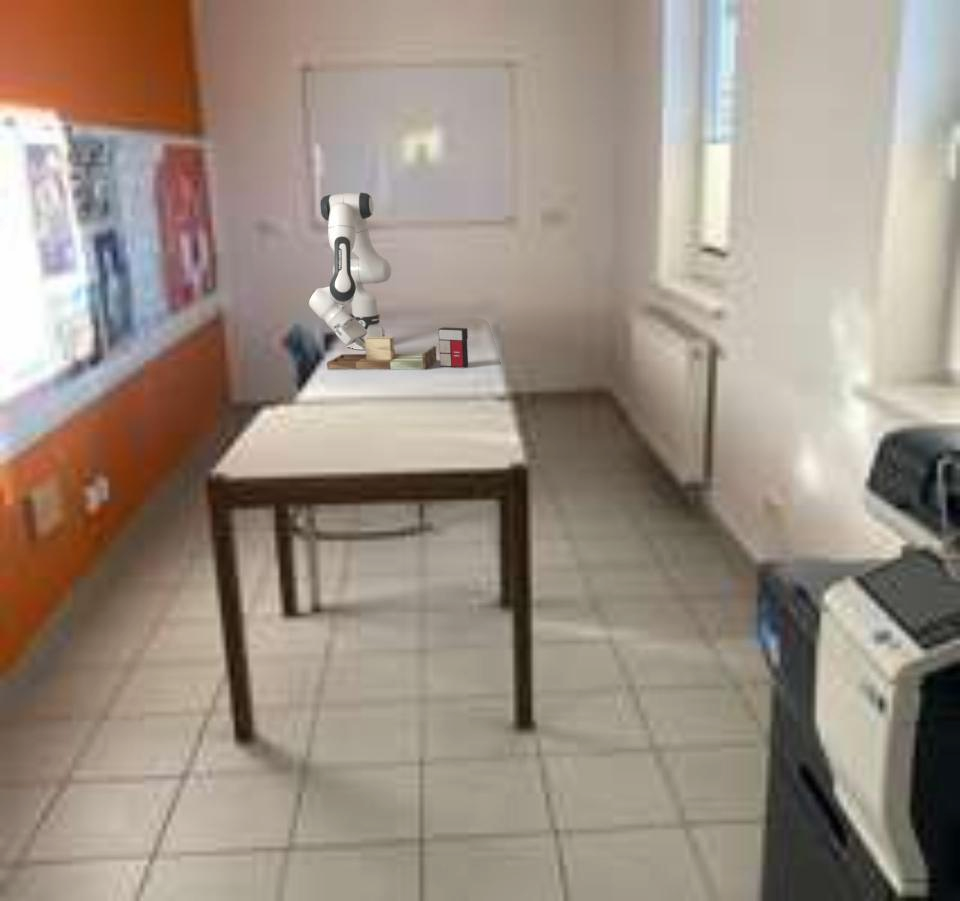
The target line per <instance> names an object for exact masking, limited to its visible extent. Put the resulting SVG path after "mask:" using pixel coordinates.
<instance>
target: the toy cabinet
mask: <svg viewBox="0 0 960 901" xmlns="http://www.w3.org/2000/svg"><path fill="white" fill-rule="evenodd" d="M468 335H469V333H468V328H466V327H464V328H463V327H448V326H447V327H446V326H445V327H444V326H443V327H440V328H438V344H439V345H438V346H439V364H440V367H441V366H442V367H441V368H444V367H445V368H456V367H465V368H468V367H469V358H468V357H469V352H468V351H469V350H468V337H469V336H468ZM467 366H468V367H467Z"/></svg>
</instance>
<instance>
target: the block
mask: <svg viewBox="0 0 960 901" xmlns="http://www.w3.org/2000/svg"><path fill="white" fill-rule="evenodd" d="M365 345H366V349H365V354H366V359H392V358H394V357H395V354H396V351H395V337H394V336H385V337H369V338H367V339H365Z"/></svg>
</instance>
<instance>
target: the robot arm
mask: <svg viewBox="0 0 960 901" xmlns="http://www.w3.org/2000/svg"><path fill="white" fill-rule="evenodd" d="M374 208H375V207H374V200H373V199H372V196H371V195H370V194H369V193H367V192H360V193H359V192H345V193H337V194H328V195H325V196H323V197H322V198H321V199H320V204H319V210H320V215H321V217H322V218H323V219H324V220H325V221H327V222H328V224H327V234H328V235H327V237H328V244H329V247H330V249H332V251H333V255H334V259H333V260H334V263H333V266H332V278H331V281H330V283H329V286H326V287H320V288H319V287H318V288H315V290H314V291H313V292H312V293H311V295H310V297H309V299H308V306H309V308H311V310H312V311H313V313H314V314H316V315H317V316H318V317H319V318H320V319H321V320H323V321H324V322H325V323H326V325H327V326H328V327H329V328H330V329H331V330H332V331H333V332H334V333H335V335H336V336H337V337H338V338H339V340H340V341H341V342H342V343H344V344H345V345H346V348H347V347H350V348H349V349H352V348H353V349H352V350H366V345H365V339H367V338H369V337H386V333H385V329H384V328H383V326H382V325H381V323H380V318H381V316H380V315H381V314H380V313H378V303H377V301H378V300H377V297H376V296H375V294H373V293H371V292H370V291H368V290H366V289H365V288H364V286H363V285H366V284H367V285H368V284H372V285H374V284H379V283H384V282H387V281H388V280H389V279H390V278H391V275H392V267H391V265H390V263H389V261H388V260H387V259H385V258H384V257H382V256H381V255H380V254H379V253H378V252H377V251H376V250H375V248H374V247H373V244H372V240H371V235H370V232H369V224H368V221H367V219H368V218H370V217H371V216H372V215H373V212H374ZM352 254H354V255H355V256H357V257H358V258H351V255H352ZM349 305H351V312H352V313H349V312H347V311H346V310H345V309H344V308H347V306H349Z"/></svg>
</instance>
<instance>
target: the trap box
mask: <svg viewBox="0 0 960 901" xmlns="http://www.w3.org/2000/svg"><path fill="white" fill-rule="evenodd" d="M437 361H438V360H437V346H432V347H430V348H429V349H427V351H425V352H423V353H395V357H394V358H392V359H366V353H361V354H359V353H357V354H356V353H353V354H352V353H351V354H350V353H349V354H348V353H341V354H339V355H337V356H336V357H333V358H332V359H330V360H328V361H327V362H326V368H327V369H426V370H427V369H428V368H430V367H431V366H432V365H433V363H434V362H435V363H436V362H437ZM435 363H434V364H435ZM429 366H430V367H429Z"/></svg>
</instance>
